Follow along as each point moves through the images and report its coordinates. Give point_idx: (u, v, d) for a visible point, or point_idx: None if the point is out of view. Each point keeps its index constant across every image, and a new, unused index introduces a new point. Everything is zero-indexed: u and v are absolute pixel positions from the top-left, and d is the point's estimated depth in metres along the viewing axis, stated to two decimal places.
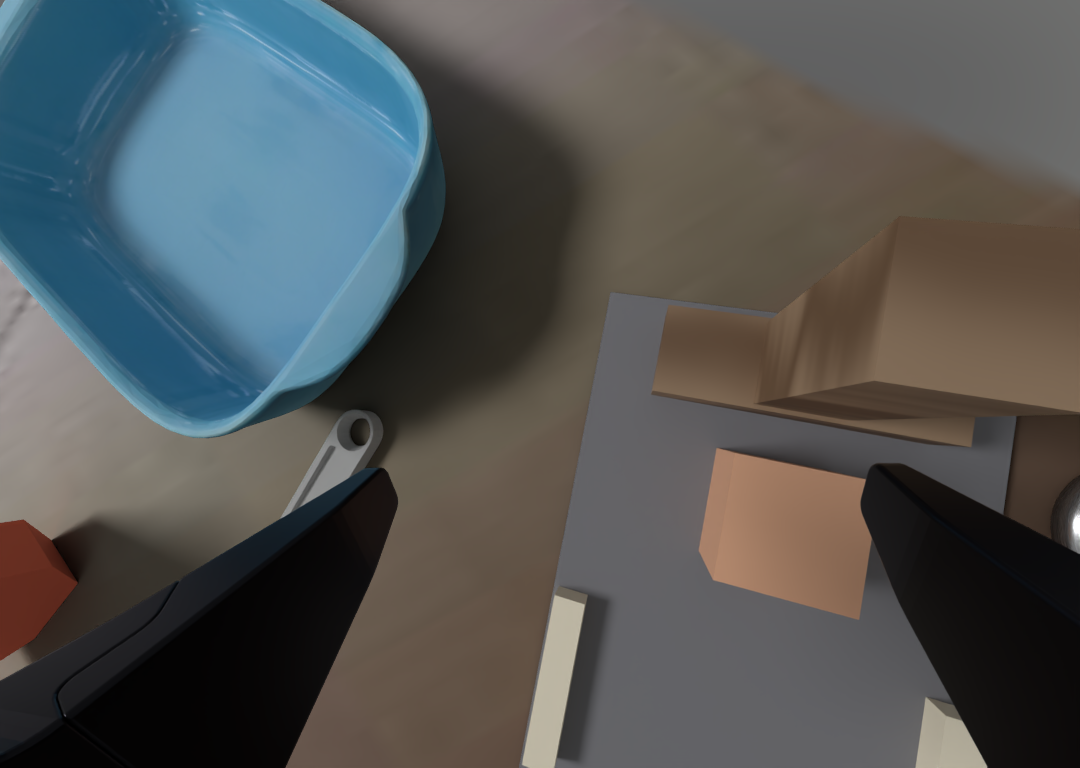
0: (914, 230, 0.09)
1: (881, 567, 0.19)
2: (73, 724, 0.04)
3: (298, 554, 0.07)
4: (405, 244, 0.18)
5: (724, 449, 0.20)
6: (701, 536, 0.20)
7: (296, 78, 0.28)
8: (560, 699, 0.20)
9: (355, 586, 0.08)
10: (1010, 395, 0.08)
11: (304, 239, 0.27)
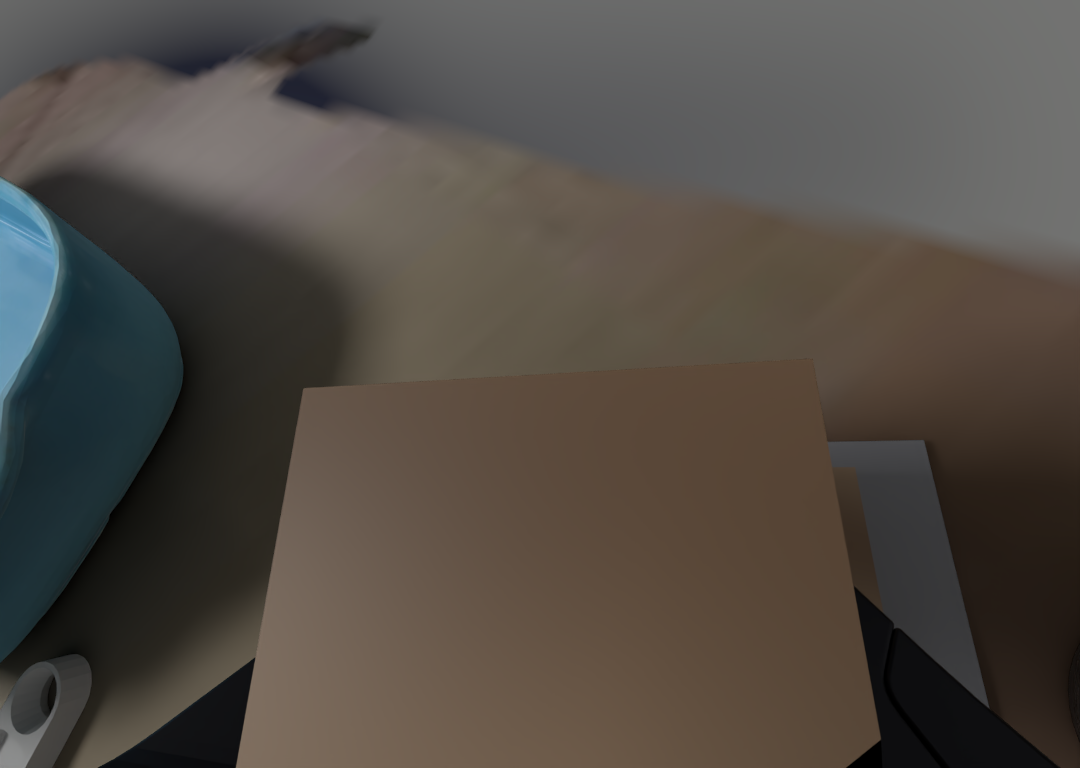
0: (331, 422, 0.03)
1: None
2: None
3: None
4: (2, 449, 0.12)
5: None
6: None
7: (40, 253, 0.24)
8: None
9: None
10: None
11: None
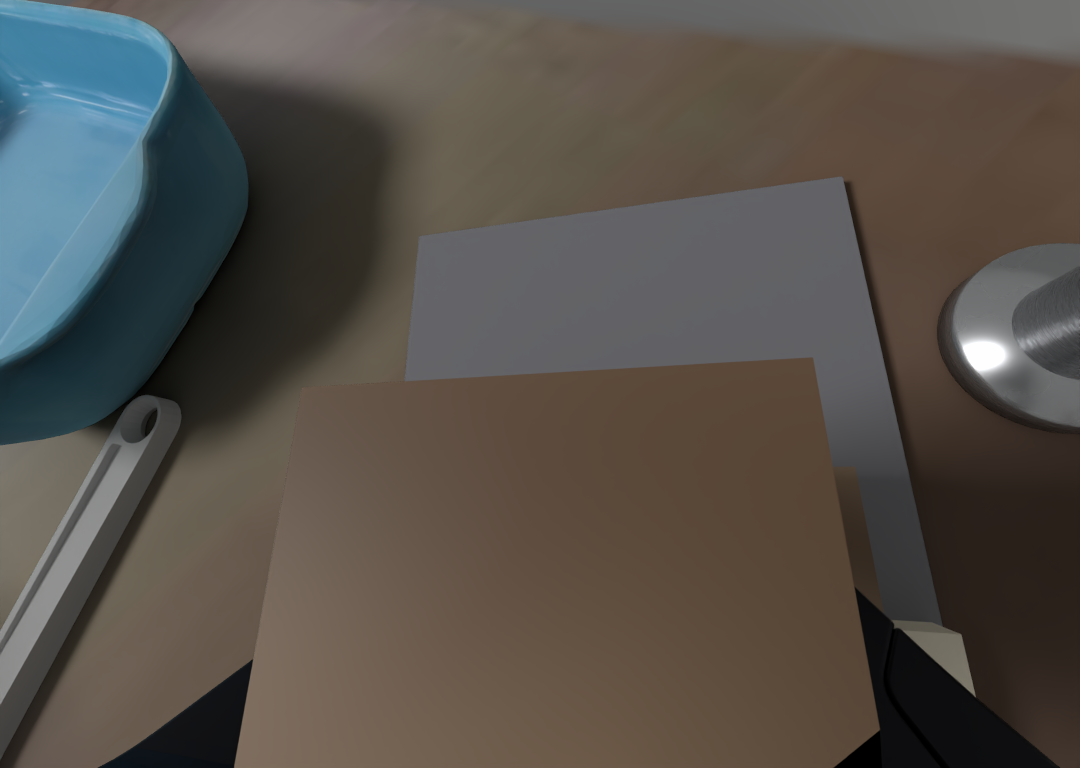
0: (329, 422, 0.03)
1: None
2: None
3: None
4: (145, 172, 0.16)
5: None
6: None
7: (111, 121, 0.28)
8: None
9: None
10: None
11: None
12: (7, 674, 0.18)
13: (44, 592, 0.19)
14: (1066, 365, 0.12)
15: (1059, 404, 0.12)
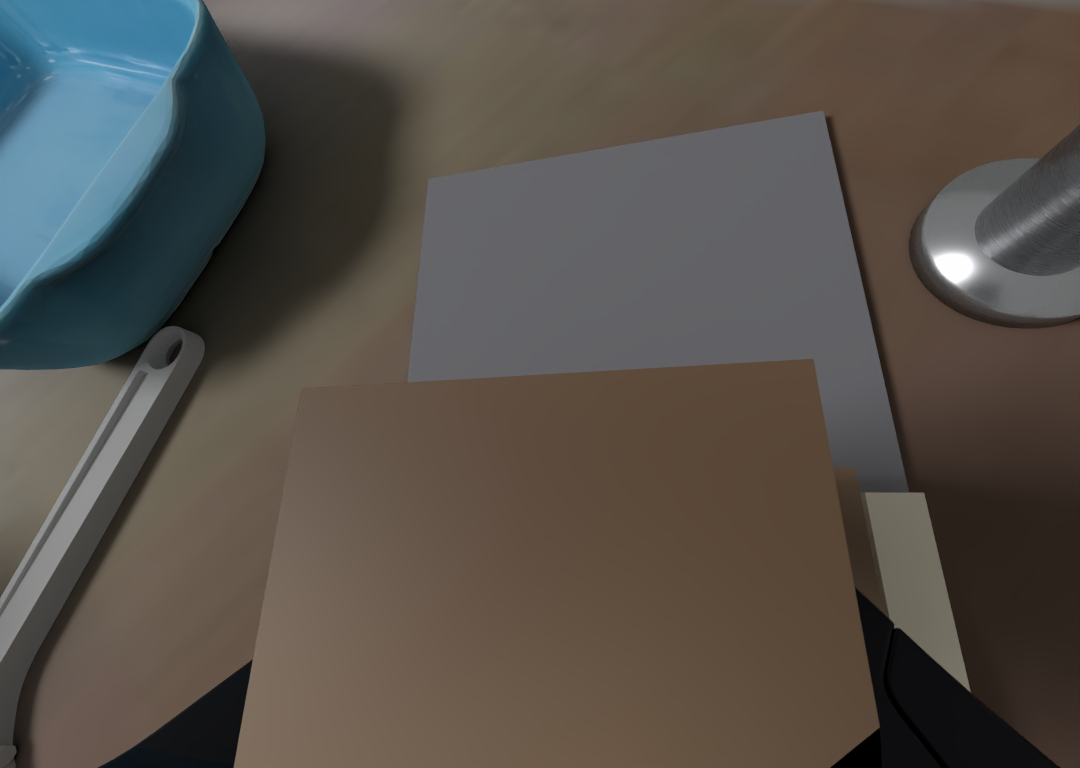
0: (329, 423, 0.03)
1: (751, 358, 0.16)
2: None
3: None
4: (174, 107, 0.17)
5: None
6: None
7: (134, 84, 0.29)
8: None
9: None
10: None
11: None
12: (40, 578, 0.19)
13: (75, 504, 0.20)
14: (1021, 259, 0.13)
15: (1016, 297, 0.14)
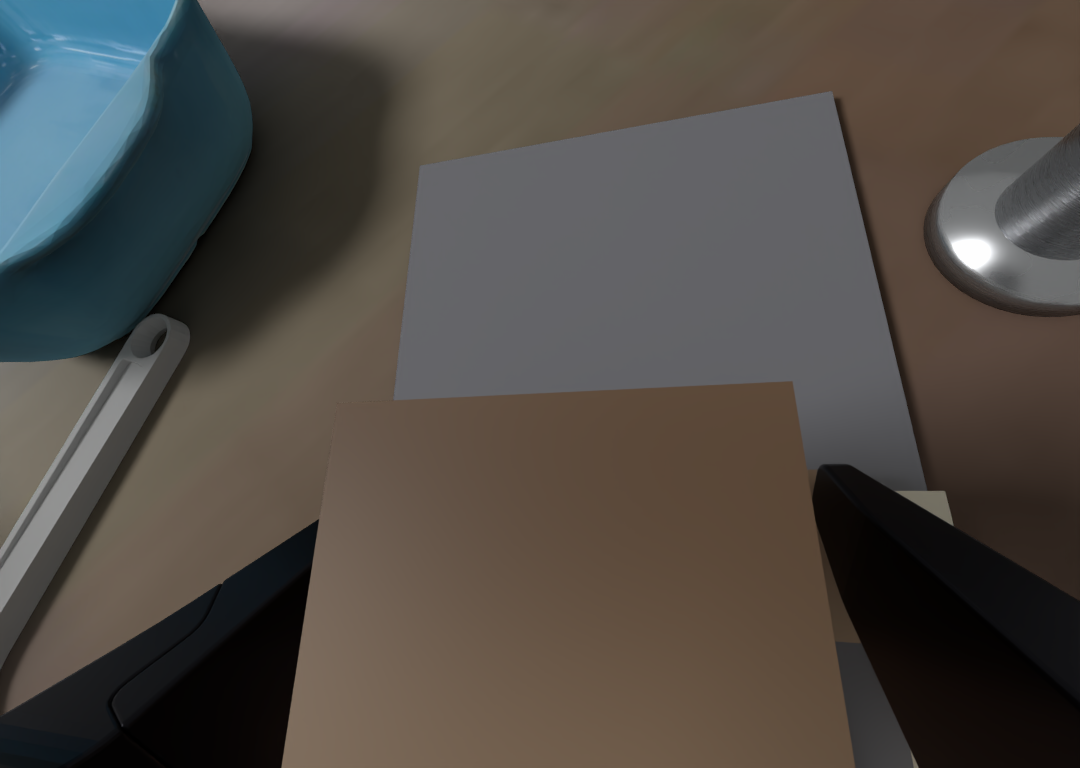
0: (363, 434, 0.04)
1: (757, 349, 0.15)
2: (130, 734, 0.04)
3: None
4: (152, 85, 0.17)
5: None
6: None
7: (120, 71, 0.28)
8: None
9: None
10: None
11: None
12: (15, 573, 0.19)
13: (53, 497, 0.20)
14: (1046, 242, 0.13)
15: (1040, 283, 0.13)
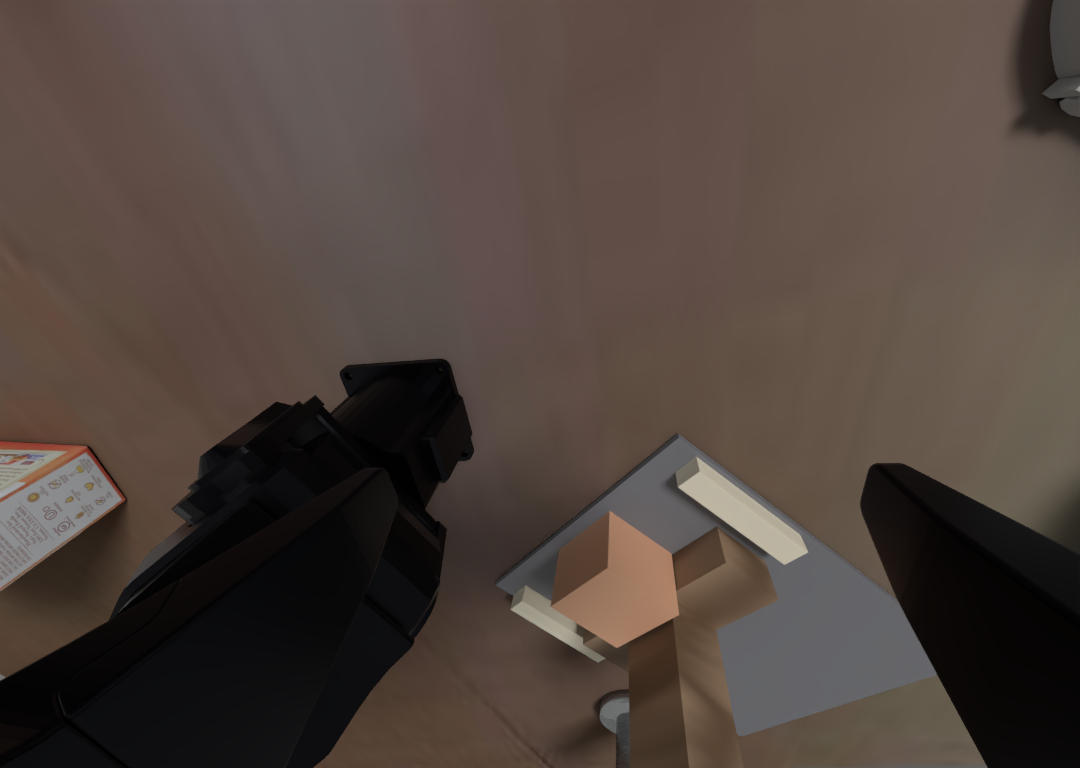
0: None
1: None
2: (73, 723, 0.04)
3: (298, 554, 0.07)
4: None
5: None
6: (618, 518, 0.25)
7: None
8: (729, 519, 0.23)
9: (355, 586, 0.08)
10: None
11: None
12: None
13: None
14: None
15: (623, 706, 0.35)
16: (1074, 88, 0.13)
